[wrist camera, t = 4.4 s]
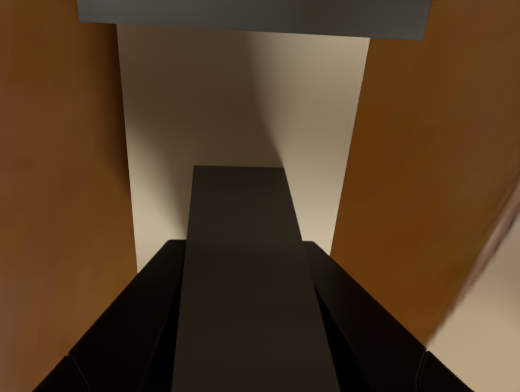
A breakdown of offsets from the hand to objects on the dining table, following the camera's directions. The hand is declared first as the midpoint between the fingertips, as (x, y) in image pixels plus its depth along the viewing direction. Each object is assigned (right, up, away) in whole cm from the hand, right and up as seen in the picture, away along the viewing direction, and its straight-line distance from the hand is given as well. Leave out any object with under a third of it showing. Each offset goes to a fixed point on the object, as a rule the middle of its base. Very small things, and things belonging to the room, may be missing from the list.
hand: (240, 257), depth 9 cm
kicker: (0, +4, +3) cm, 4 cm away
